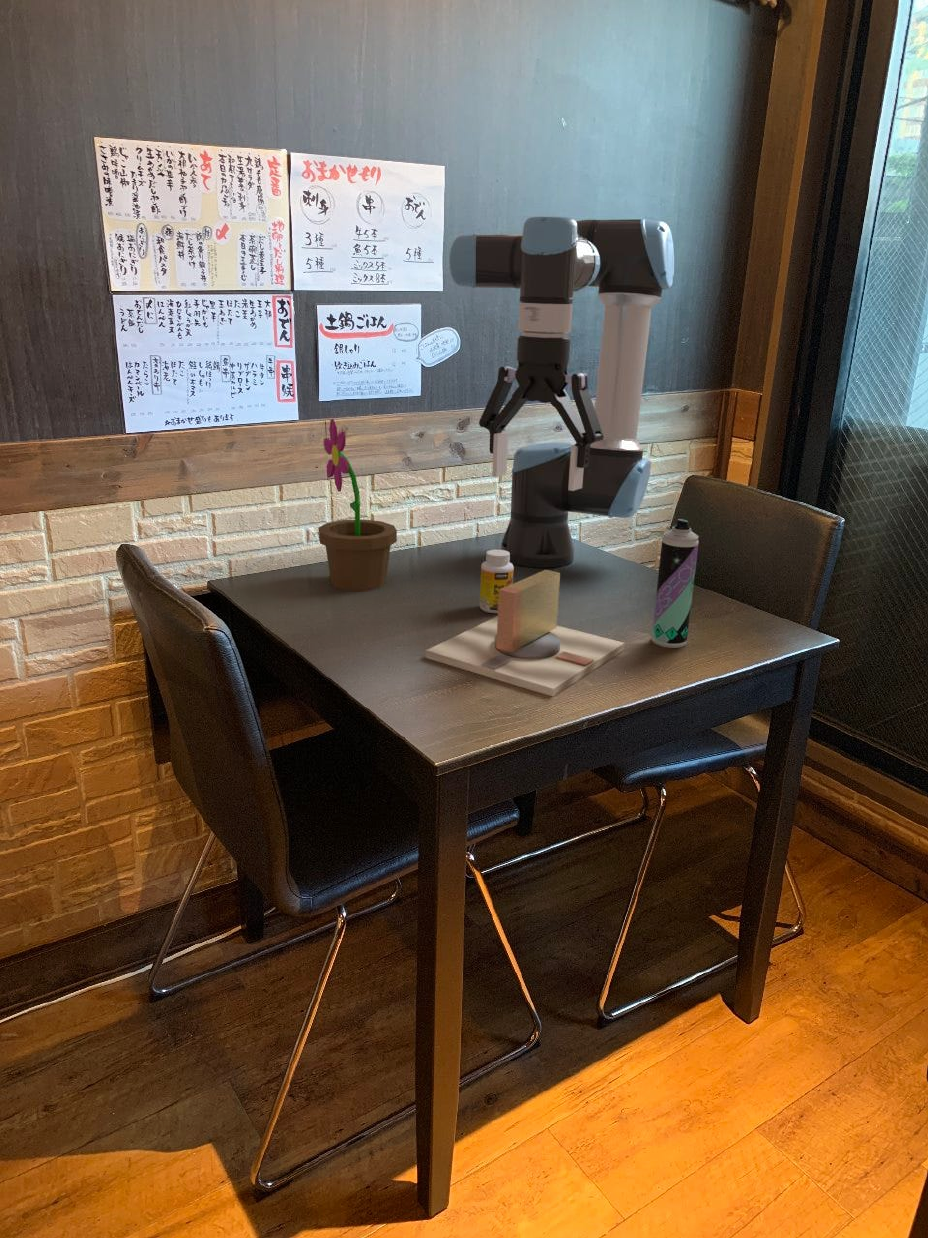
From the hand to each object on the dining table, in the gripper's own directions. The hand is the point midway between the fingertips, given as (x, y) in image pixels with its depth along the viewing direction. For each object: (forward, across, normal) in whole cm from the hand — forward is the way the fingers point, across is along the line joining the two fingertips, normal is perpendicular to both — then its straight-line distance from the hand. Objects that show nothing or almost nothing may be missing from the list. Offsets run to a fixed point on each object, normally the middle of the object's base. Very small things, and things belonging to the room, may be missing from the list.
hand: (536, 482), depth 140 cm
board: (+25, +4, -6) cm, 26 cm away
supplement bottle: (+25, -12, +8) cm, 29 cm away
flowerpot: (+25, -40, +3) cm, 47 cm away
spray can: (+25, +18, +14) cm, 34 cm away
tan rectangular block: (+23, +4, -6) cm, 24 cm away
